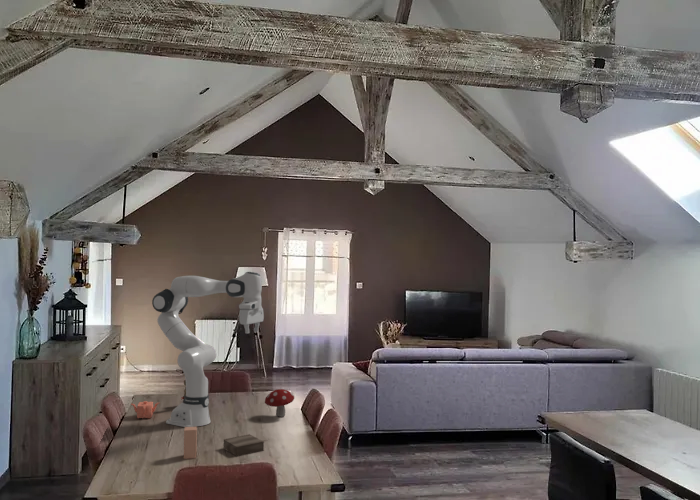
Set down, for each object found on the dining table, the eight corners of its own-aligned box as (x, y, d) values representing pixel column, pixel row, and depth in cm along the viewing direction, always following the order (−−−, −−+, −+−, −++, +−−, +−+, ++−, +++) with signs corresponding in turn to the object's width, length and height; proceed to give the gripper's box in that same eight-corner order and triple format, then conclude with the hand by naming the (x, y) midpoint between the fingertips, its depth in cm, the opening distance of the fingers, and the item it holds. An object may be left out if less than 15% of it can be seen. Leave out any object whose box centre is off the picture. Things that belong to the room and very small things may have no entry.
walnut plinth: (223, 448, 268) (223, 439, 268) (249, 443, 276) (249, 434, 276) (236, 456, 257) (237, 447, 257) (263, 450, 265) (263, 441, 265)
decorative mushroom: (296, 420, 315) (297, 391, 315) (266, 422, 310) (267, 393, 310) (291, 412, 330) (291, 384, 330) (262, 414, 325) (262, 386, 326)
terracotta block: (184, 454, 258) (185, 427, 258) (196, 454, 259) (196, 426, 259) (183, 458, 253) (184, 430, 254) (195, 458, 254) (196, 429, 255)
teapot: (158, 419, 312) (159, 403, 312) (128, 421, 309) (128, 404, 309) (160, 413, 324) (161, 398, 324) (131, 414, 320) (131, 399, 320)
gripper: (255, 303, 309) (255, 330, 309) (237, 305, 289) (236, 334, 289) (267, 303, 307) (266, 330, 307) (249, 305, 288) (248, 334, 287)
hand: (251, 332), depth 298 cm, fingers open, 8 cm apart
